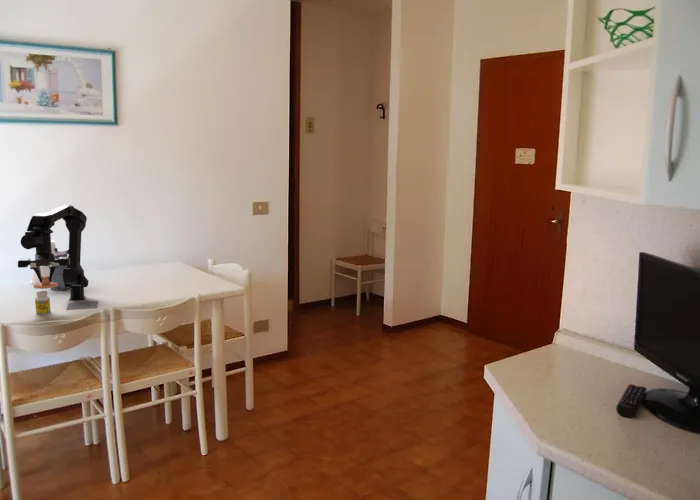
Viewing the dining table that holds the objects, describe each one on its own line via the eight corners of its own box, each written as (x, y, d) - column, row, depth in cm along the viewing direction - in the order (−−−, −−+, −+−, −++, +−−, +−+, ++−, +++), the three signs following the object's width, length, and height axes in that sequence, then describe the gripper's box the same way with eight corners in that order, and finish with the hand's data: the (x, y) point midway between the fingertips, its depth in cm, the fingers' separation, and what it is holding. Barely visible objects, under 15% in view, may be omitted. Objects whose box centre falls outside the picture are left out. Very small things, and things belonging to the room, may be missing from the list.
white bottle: (50, 278, 311) (47, 230, 306) (61, 281, 305) (58, 232, 300) (27, 282, 301) (23, 233, 297) (38, 285, 295) (34, 235, 291)
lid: (35, 284, 249) (34, 275, 249) (58, 283, 253) (58, 273, 252) (32, 289, 241) (31, 279, 240) (57, 287, 244) (56, 278, 244)
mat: (68, 304, 264) (68, 302, 264) (98, 302, 268) (98, 300, 268) (66, 311, 253) (66, 310, 253) (97, 309, 257) (97, 307, 257)
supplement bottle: (49, 311, 252) (48, 289, 250) (51, 315, 247) (50, 292, 246) (35, 313, 249) (33, 291, 247) (37, 316, 244) (35, 294, 243)
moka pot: (40, 290, 286) (37, 249, 282) (66, 283, 300) (63, 244, 297) (55, 292, 282) (52, 251, 279) (80, 285, 297) (78, 246, 293)
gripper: (14, 249, 233) (17, 288, 236) (67, 247, 240) (69, 285, 243) (18, 244, 244) (21, 282, 246) (69, 243, 250) (71, 279, 253)
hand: (45, 282), depth 247 cm, fingers closed on lid, 3 cm apart
